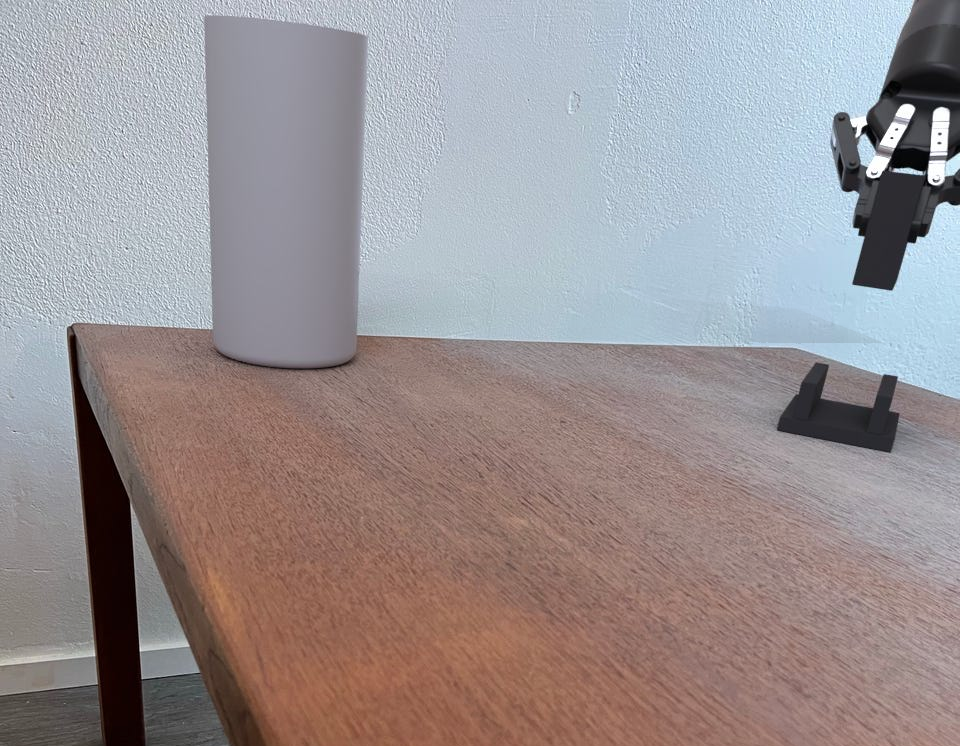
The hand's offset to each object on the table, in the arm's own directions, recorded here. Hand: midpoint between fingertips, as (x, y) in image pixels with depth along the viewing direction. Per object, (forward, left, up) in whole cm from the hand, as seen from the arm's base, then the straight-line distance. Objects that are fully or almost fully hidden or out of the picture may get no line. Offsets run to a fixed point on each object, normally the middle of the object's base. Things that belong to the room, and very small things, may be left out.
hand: (888, 231), depth 75 cm
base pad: (-1, -1, -16) cm, 16 cm away
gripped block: (-1, -2, -4) cm, 4 cm away
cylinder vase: (+45, -17, -16) cm, 51 cm away
